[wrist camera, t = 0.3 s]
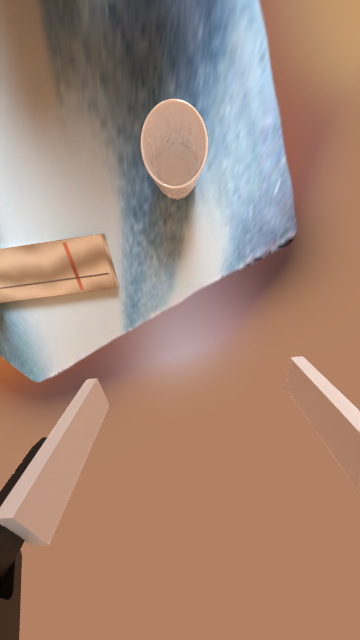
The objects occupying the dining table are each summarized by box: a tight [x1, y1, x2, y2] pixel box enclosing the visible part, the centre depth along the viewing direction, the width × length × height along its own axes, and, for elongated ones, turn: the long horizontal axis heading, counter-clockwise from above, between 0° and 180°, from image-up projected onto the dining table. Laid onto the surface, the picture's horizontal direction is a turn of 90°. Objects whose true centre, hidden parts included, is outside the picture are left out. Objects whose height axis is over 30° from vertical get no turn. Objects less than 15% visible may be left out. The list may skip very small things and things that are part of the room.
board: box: [0, 234, 119, 303], centre depth 35 cm, size 10×34×2 cm, turn 97°
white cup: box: [141, 99, 208, 200], centre depth 25 cm, size 8×8×10 cm
